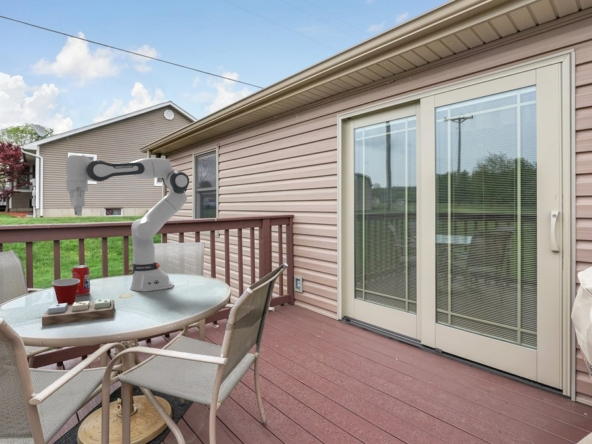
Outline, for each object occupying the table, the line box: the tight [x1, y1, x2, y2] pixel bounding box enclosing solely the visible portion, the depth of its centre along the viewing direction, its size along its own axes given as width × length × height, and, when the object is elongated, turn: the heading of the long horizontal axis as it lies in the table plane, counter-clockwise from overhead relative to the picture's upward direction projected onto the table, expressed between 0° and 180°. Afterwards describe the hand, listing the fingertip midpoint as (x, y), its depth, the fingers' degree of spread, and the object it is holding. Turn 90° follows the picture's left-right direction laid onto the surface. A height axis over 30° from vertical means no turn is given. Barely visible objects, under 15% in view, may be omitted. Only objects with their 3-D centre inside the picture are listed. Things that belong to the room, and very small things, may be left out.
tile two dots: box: [94, 298, 112, 308], centre depth 143 cm, size 6×6×3 cm
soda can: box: [71, 264, 91, 297], centre depth 172 cm, size 8×8×15 cm
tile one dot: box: [47, 303, 67, 314], centre depth 136 cm, size 6×6×3 cm
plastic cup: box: [51, 277, 80, 305], centre depth 152 cm, size 11×11×12 cm
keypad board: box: [41, 299, 116, 327], centre depth 140 cm, size 24×14×4 cm, turn 116°
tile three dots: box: [72, 300, 91, 311], centre depth 140 cm, size 6×6×3 cm
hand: (78, 215), depth 164 cm, fingers open, 8 cm apart
